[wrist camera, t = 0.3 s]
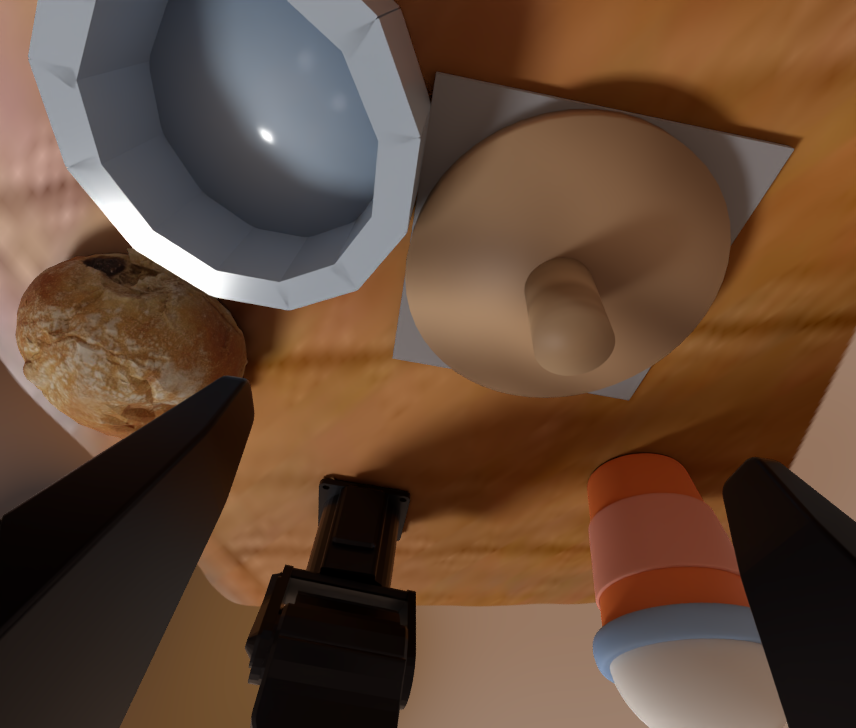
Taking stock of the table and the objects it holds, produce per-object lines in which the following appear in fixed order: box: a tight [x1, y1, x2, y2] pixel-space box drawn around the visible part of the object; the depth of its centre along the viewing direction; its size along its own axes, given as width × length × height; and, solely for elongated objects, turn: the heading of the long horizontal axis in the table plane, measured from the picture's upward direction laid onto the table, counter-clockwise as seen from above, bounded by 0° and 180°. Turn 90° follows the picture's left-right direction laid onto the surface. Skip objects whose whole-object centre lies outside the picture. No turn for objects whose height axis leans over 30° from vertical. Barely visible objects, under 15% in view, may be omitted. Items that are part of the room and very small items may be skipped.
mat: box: [393, 72, 794, 400], centre depth 20 cm, size 13×13×1 cm
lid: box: [405, 109, 731, 398], centre depth 18 cm, size 13×13×5 cm
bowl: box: [28, 0, 431, 310], centre depth 15 cm, size 11×11×4 cm
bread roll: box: [16, 248, 248, 439], centre depth 23 cm, size 10×10×8 cm
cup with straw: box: [587, 453, 787, 728], centre depth 23 cm, size 9×9×18 cm
